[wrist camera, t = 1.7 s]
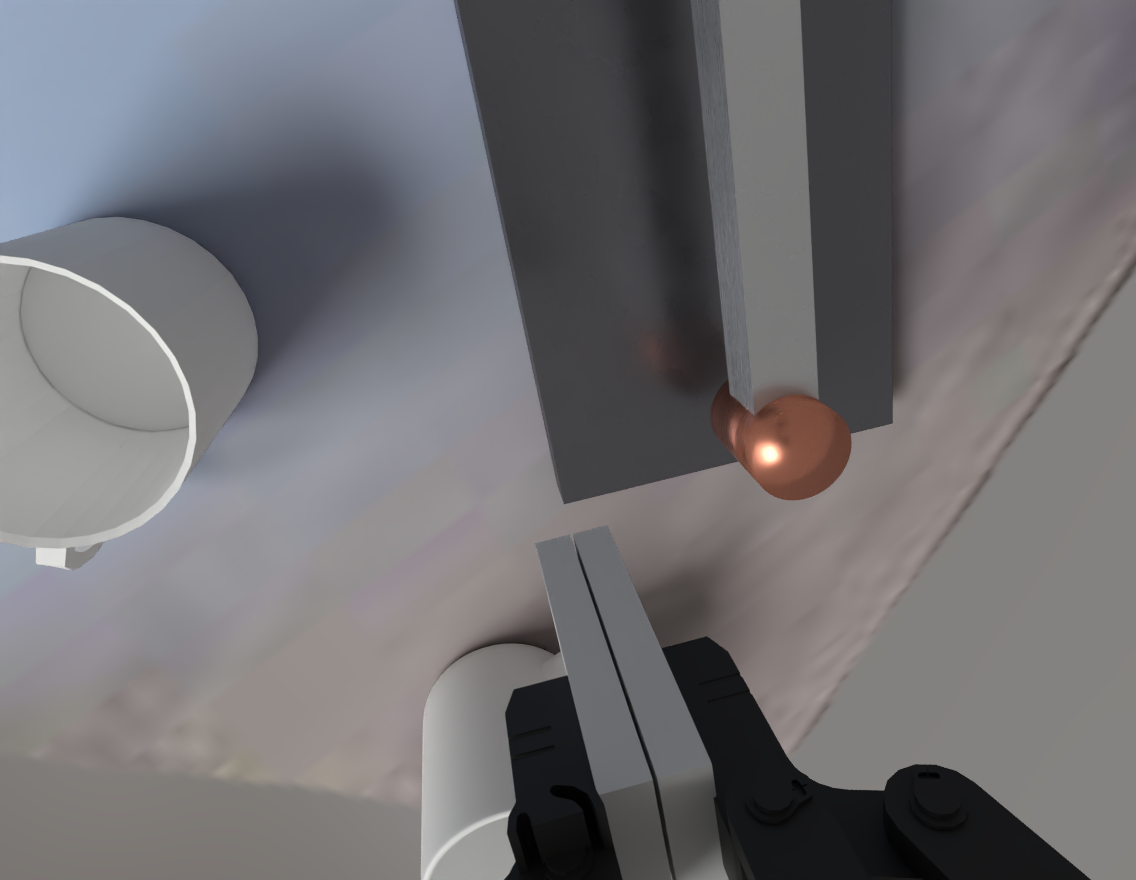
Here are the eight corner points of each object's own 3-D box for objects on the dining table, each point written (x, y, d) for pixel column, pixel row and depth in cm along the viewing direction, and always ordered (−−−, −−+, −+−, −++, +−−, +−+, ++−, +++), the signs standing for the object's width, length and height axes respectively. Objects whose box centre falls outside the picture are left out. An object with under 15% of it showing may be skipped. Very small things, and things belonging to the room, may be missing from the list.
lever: (560, -492, 19) (595, -655, 15) (783, -522, 20) (874, -688, 16) (686, 466, 31) (725, 518, 27) (825, 432, 31) (883, 478, 27)
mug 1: (43, 173, 28) (-129, 195, 19) (290, 274, 30) (235, 333, 22) (-24, 452, 31) (-196, 575, 22) (203, 519, 34) (127, 653, 25)
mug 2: (653, 636, 40) (723, 798, 31) (518, 783, 43) (544, 977, 33) (527, 561, 37) (562, 716, 28) (390, 725, 40) (377, 920, 30)
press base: (375, -364, 23) (358, -515, 18) (856, -435, 25) (979, -597, 19) (557, 485, 36) (580, 550, 30) (870, 408, 37) (946, 458, 32)
